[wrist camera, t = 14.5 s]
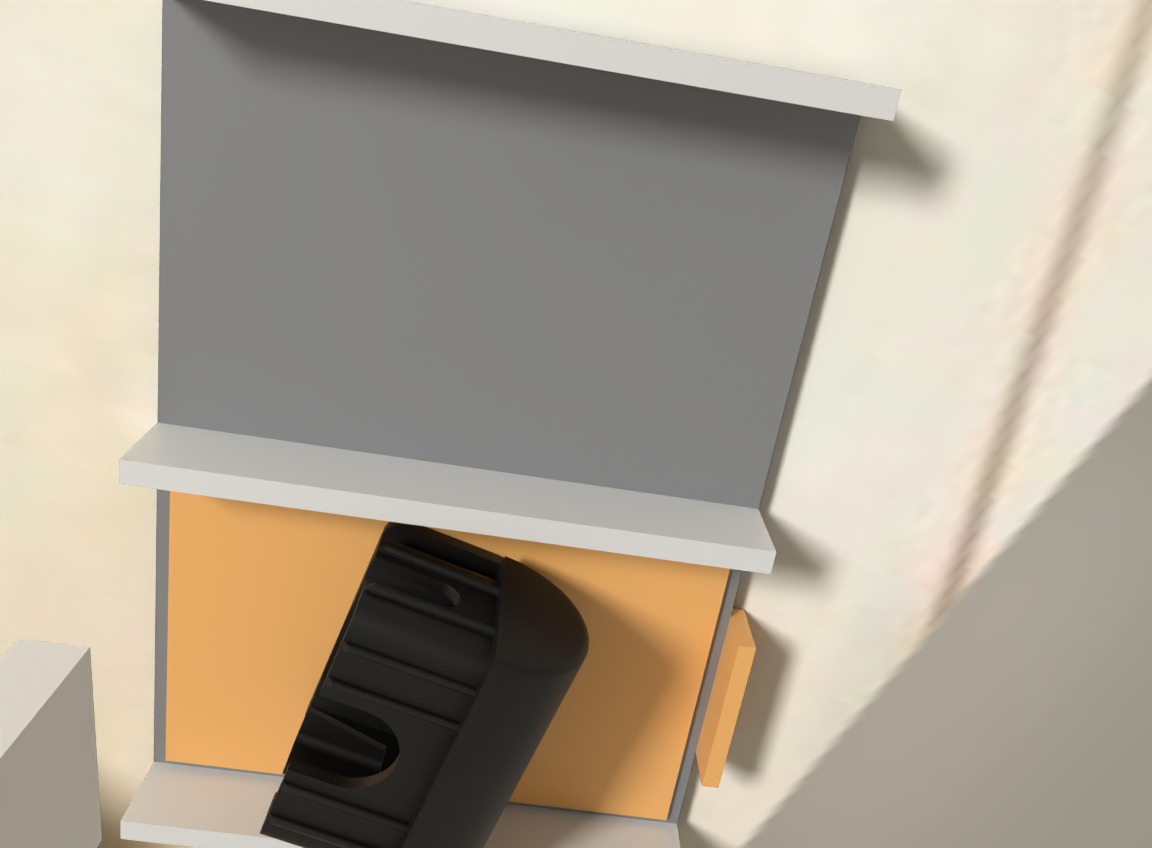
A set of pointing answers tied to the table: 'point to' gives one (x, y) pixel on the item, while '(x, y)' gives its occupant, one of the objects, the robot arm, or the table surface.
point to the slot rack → (470, 374)
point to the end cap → (428, 699)
